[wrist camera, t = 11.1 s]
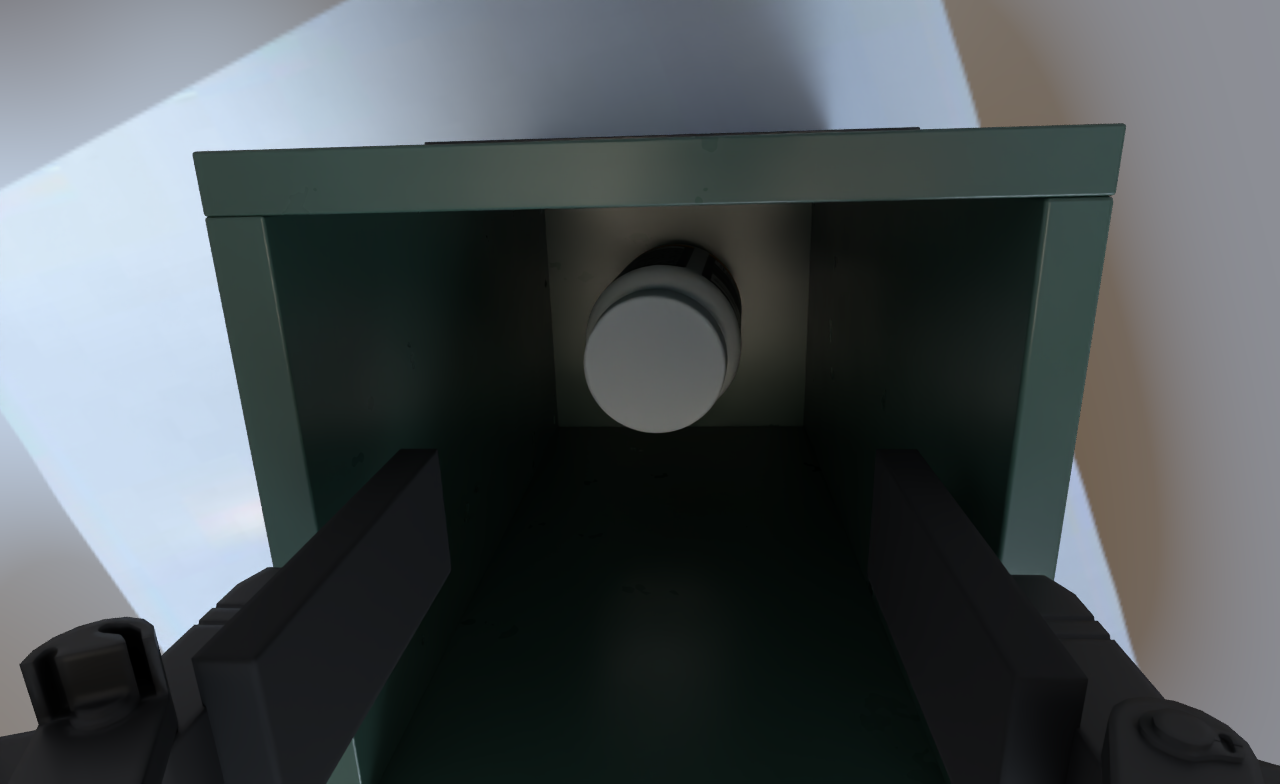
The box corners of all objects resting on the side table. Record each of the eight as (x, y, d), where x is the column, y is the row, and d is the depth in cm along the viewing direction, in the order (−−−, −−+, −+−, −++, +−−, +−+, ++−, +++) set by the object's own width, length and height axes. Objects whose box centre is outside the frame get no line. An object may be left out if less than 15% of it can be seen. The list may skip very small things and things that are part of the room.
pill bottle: (603, 349, 35) (550, 424, 25) (631, 226, 33) (584, 259, 23) (723, 381, 34) (714, 469, 25) (758, 259, 33) (762, 305, 23)
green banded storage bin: (516, 145, 35) (168, 132, 12) (841, 136, 33) (1153, 100, 11) (538, 443, 39) (315, 855, 16) (825, 443, 38) (1023, 885, 15)
